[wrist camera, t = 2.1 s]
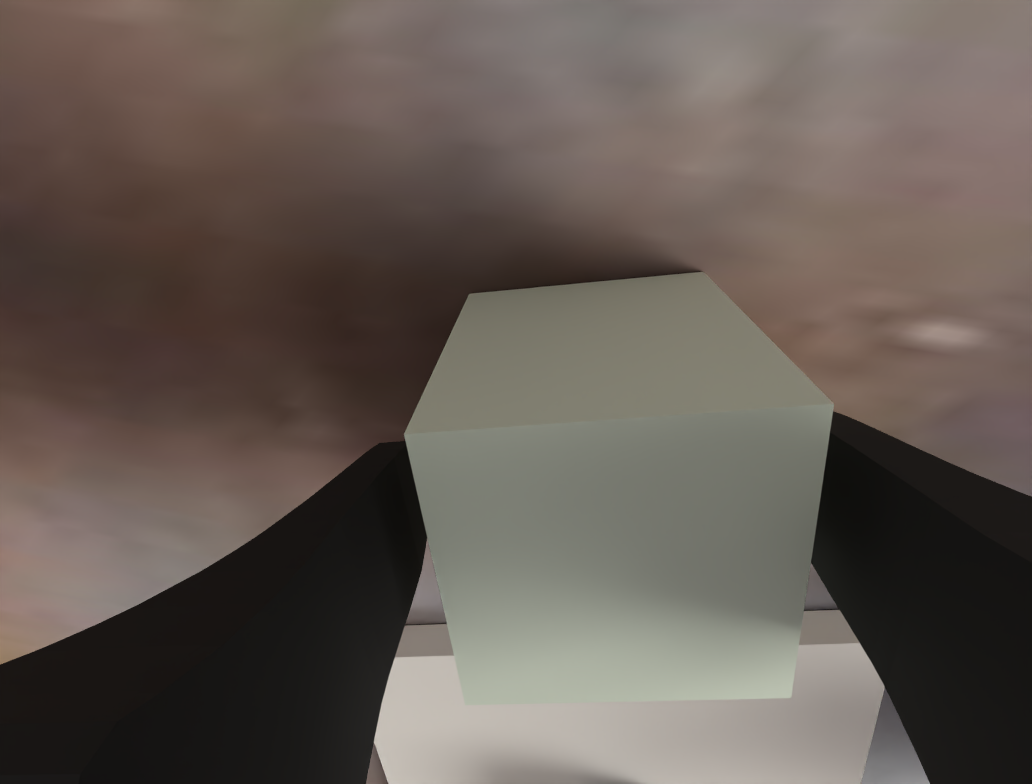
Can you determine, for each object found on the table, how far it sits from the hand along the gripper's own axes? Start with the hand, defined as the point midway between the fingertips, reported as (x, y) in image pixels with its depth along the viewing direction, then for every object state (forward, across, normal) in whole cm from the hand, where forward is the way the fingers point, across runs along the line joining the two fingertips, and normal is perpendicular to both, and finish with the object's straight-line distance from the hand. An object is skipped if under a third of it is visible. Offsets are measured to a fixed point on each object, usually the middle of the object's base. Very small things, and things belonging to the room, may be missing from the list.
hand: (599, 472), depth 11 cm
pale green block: (+4, 0, 0) cm, 4 cm away
